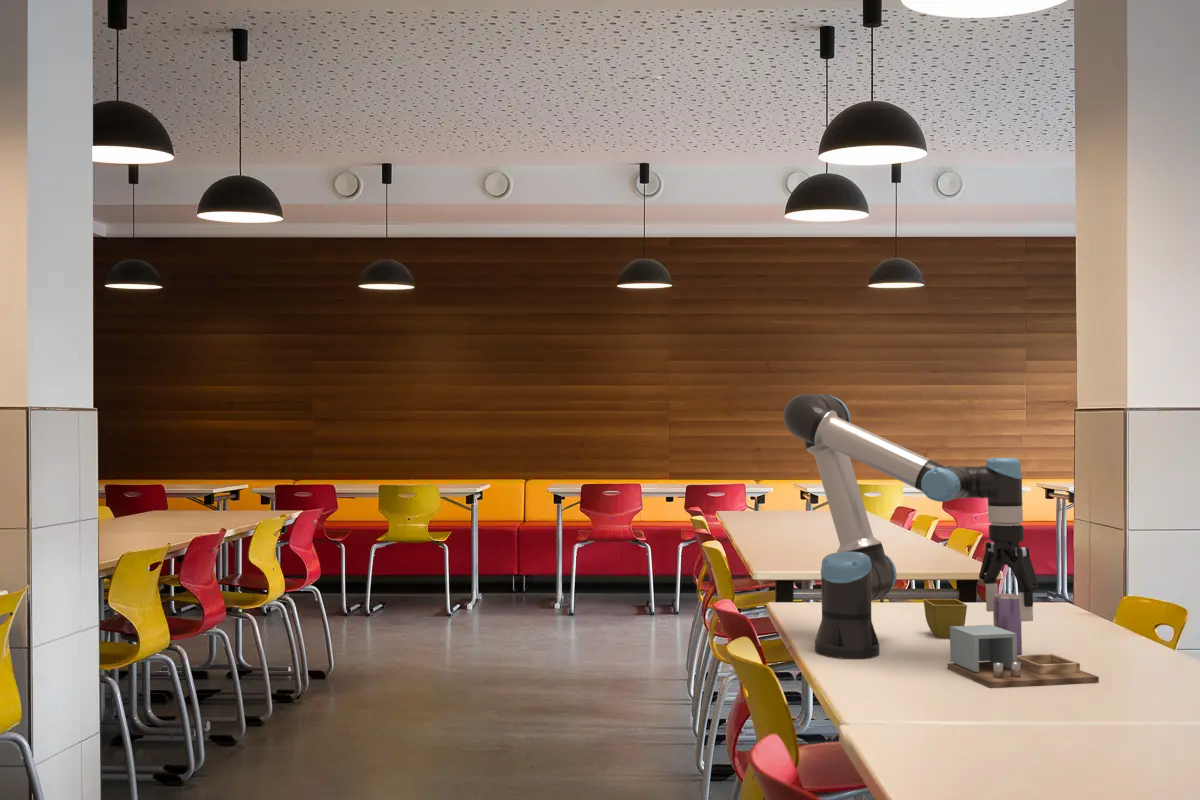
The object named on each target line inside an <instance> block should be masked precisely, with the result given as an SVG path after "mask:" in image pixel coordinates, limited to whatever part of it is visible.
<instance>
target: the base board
mask: <svg viewBox="0 0 1200 800" xmlns="http://www.w3.org/2000/svg"><path fill="white" fill-rule="evenodd" d="M1017 661H1018V662H1020V665H1021V677H1019V678H1016V677H1011V676H1010V669H1009V668H1006V667H1004V666H1003V678H994V677H993V662H991V661H979V672H974V671H971V670H969V669H967V668H964V667H962V666H960V665H958V664H955V663H953V662H949V663H947V664H946V665H947V670H949V671H951V672H954V673H956V674H959V675H960V676H963V677H964V678H967V679H969V680H972V681H974V682H976V683H978V684H981V685H983V686H985V687H987V688H990V689H999V688H1016V687H1019V688H1020V687H1039V686H1055V685H1056V686H1058V685H1075V684H1079V685H1080V684H1096V683H1097V682H1099V683H1100V677H1099V676H1097V675H1094V674H1092V673H1089V672H1087V671H1084V670H1081V663H1079V662H1077V661H1074V660H1070V659H1068V658H1065V657H1061V656H1059V655H1056V654H1053V653H1046V654H1045V653H1043V654H1042V653H1041V654H1040V653H1038V654H1022V655H1017ZM1097 684H1098V683H1097Z"/></svg>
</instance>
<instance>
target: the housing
mask: <svg viewBox="0 0 1200 800" xmlns="http://www.w3.org/2000/svg"><path fill="white" fill-rule="evenodd" d="M949 642H950V643H949V649H950V651H949V652H950V653H949V654H950V663H955V664H958V665H960V666H962V667H964V668H967V669H969V670H971V671H974V672H979V662H1002V663H1003V666H1004V667H1006V668H1009V669H1010V661H1017V634H1016V633H1013V632H1010V631H1007V630H1004V629H1001V628H998V627H995V626H994V625H993V624H979V625H978V624H977V625H964V626H950V638H949Z"/></svg>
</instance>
